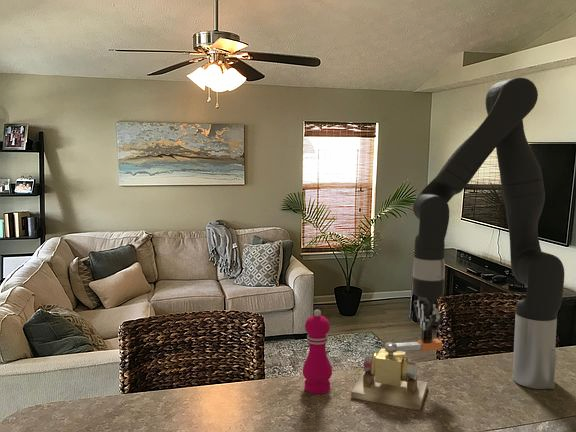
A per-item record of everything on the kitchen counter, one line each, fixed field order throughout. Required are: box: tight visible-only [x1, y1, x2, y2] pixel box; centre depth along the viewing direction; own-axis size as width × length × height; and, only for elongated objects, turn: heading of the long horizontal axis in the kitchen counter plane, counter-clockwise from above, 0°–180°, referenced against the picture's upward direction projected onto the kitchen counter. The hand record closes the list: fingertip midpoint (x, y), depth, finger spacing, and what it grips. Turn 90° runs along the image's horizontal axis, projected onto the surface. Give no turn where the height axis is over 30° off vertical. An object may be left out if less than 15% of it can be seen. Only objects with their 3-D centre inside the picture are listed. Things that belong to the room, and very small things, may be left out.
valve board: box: [350, 371, 428, 411], centre depth 120 cm, size 16×12×4 cm
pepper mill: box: [302, 309, 333, 395], centre depth 122 cm, size 7×7×20 cm
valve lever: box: [384, 338, 443, 353], centre depth 120 cm, size 3×14×2 cm, turn 99°
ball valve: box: [363, 347, 418, 386], centre depth 120 cm, size 12×6×7 cm, turn 67°
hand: (426, 343), depth 124 cm, fingers closed
